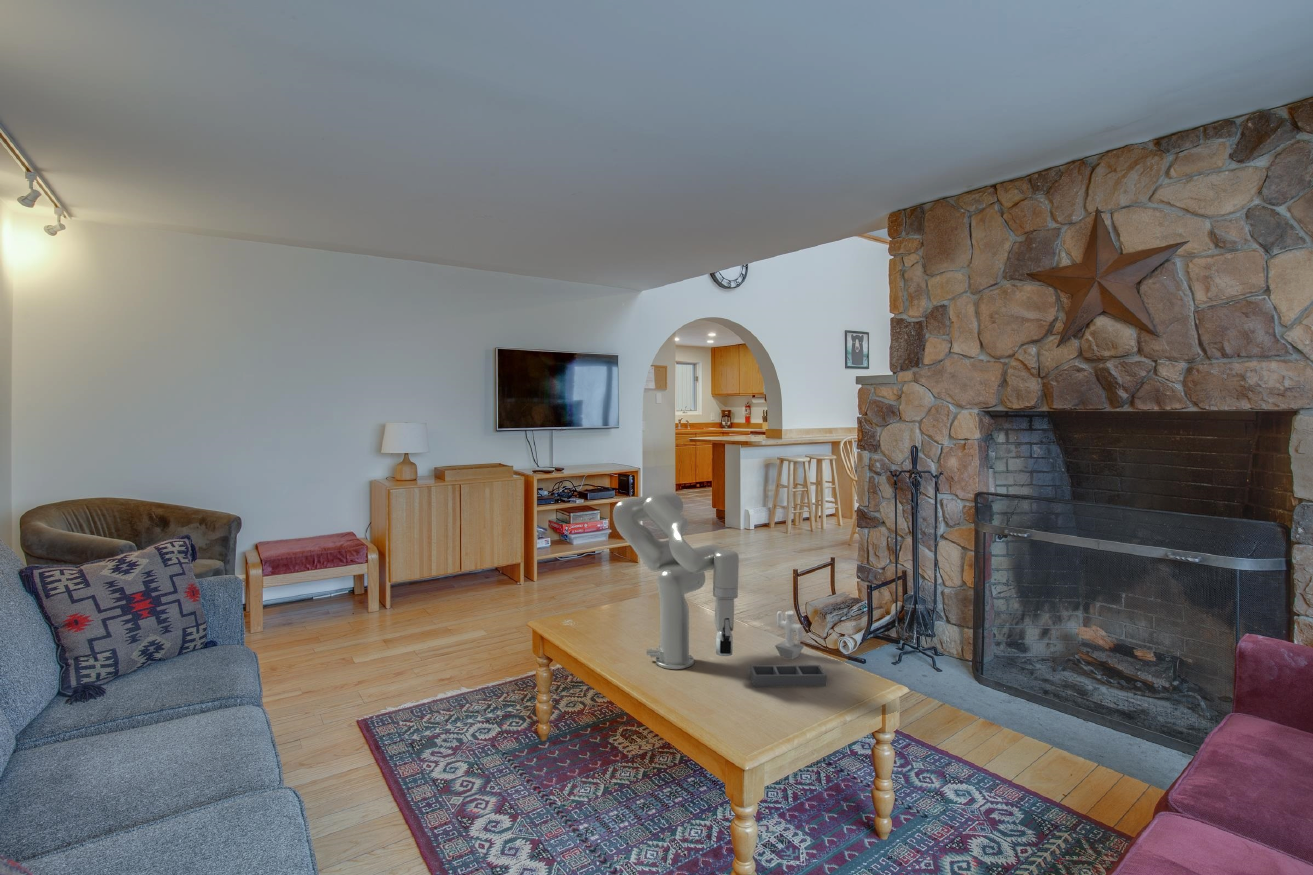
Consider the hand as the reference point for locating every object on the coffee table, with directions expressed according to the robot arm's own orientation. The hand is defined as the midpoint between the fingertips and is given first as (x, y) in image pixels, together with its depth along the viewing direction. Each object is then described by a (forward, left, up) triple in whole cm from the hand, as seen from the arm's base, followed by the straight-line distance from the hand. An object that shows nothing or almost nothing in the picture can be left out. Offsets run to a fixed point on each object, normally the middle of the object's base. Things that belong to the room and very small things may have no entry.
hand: (724, 648), depth 197 cm
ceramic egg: (0, 0, -1) cm, 1 cm away
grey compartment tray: (+19, 0, -10) cm, 22 cm away
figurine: (+24, +20, -10) cm, 33 cm away
